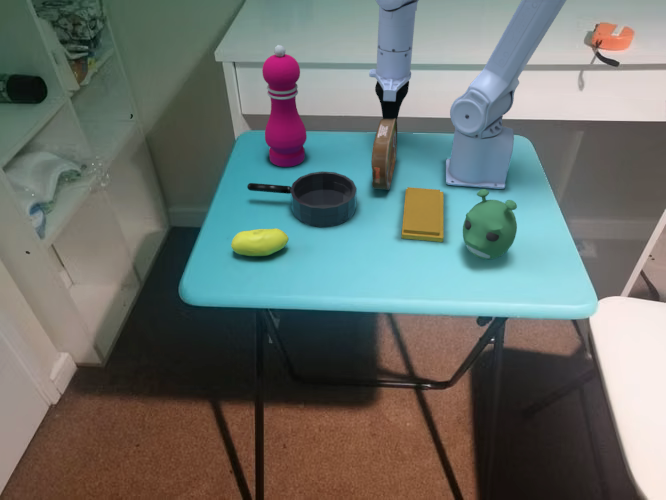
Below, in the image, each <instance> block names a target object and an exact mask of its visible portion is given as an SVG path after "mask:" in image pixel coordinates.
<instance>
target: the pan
mask: <svg viewBox="0 0 666 500" xmlns="http://www.w3.org/2000/svg"><path fill="white" fill-rule="evenodd" d="M290 187H291V189H290V207H291V212H292V214H293V216H294V217H295V218H296V219H297V220H298V221H300V222H301V223H303V224H306V225H309V226H311V227H317V228H318V227H319V228H329V227H334V226H339V225H342V224H344V223H346V222H348V221H349V220H350V219H351V218H352V217H353V216H354V215H355V212H356V209H357V190H358V189H357V186H356V184H355V182H354V181H353V180H352V179H351V178H350V177H348V176H346V175H345V174H341V173H338V172H335V171H316V172H310V173H307V174H304V175H302V176H300V177H299V178H297V179H296V180H295V181H294V182H292V185H291V186H290Z"/></svg>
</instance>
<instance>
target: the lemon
mask: <svg viewBox="0 0 666 500" xmlns="http://www.w3.org/2000/svg"><path fill="white" fill-rule="evenodd" d="M289 239H290V238H289V236H288V234H287V233H286V232H284V231H283V230H282V229H280V228H258V229H250V230H242V231H239V232H237V233H236V234H235V235H234V236H233V238H232V240H231V243H230V246H231V249H232V251H234V253H236V254H238V255H241V256H247V257H267V256H270V255H272V254H274V253H277V252H279V251H281V250H282V249H284V247H286V246H287V244H288V243H289Z"/></svg>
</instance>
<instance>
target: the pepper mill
mask: <svg viewBox="0 0 666 500" xmlns="http://www.w3.org/2000/svg"><path fill="white" fill-rule="evenodd" d="M273 53H274V54H272V55H270V56H269V57H268V58H266V59H265V61H264V62H263V65H262V69H261V70H262V78H263V80H264V82H266V84H267V85H266V89H267V93H266V94H267V96H268V97H269V98H270V114H269V118H268V120H267V123H266V126H265V130H264V141H265V143H266V145H267V146H268V147H269V150H268V154H269V160H270V163H272V164H273V165H275V166H278V167H283V168H290V167H296V166H298V165H300V164H301V163H303V162H304V160H305V157H306V156H305V152H306V151H305V147H304V145H305V143H306V141H307V138H308V136H307V129H306V126H305V124H304V122H303V120H302V118H301V116H300V113H299V112H298V111H299V110H298V108H297V101H296V97H297V96H298V94H299V89H298V88H299V86H298V84H297V83H298V81H299V79H300V78H301V77H300V76H301V69H300V65H299V63H298V61H297V60H296V59H295V58H294V57H293V56H292V55H290V54H287V53H286V48H285V46H283V45H281V44H277V45H276V46H275V47H274V49H273Z"/></svg>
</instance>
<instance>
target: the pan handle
mask: <svg viewBox="0 0 666 500" xmlns="http://www.w3.org/2000/svg"><path fill="white" fill-rule="evenodd" d="M246 187H247V190H248V191H250V192H261V193H262V192H263V193H264V192H265V193H273V194H287V195H289V194H290V189H291V187H292V186H290V185H282V184H268V183H259V182H258V183H256V182H249V183H248V184H247V186H246ZM290 195H291V194H290Z"/></svg>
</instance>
